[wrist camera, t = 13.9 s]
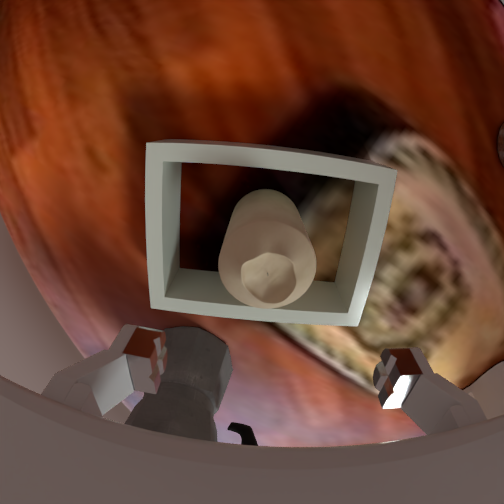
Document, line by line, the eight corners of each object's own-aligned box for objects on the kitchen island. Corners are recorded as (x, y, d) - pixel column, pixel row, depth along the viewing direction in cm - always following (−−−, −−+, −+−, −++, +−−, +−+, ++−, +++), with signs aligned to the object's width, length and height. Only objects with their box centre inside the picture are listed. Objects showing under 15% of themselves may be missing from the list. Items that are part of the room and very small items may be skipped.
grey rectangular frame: (343, 294, 27) (357, 326, 23) (167, 278, 27) (150, 308, 22) (372, 161, 22) (397, 170, 18) (168, 139, 22) (146, 142, 17)
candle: (218, 222, 25) (193, 282, 16) (264, 173, 23) (266, 206, 14) (266, 264, 26) (269, 338, 17) (312, 219, 24) (342, 277, 15)
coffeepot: (132, 366, 32) (80, 495, 16) (137, 306, 28) (56, 457, 12) (256, 399, 33) (253, 537, 17) (283, 346, 30) (296, 515, 13)
